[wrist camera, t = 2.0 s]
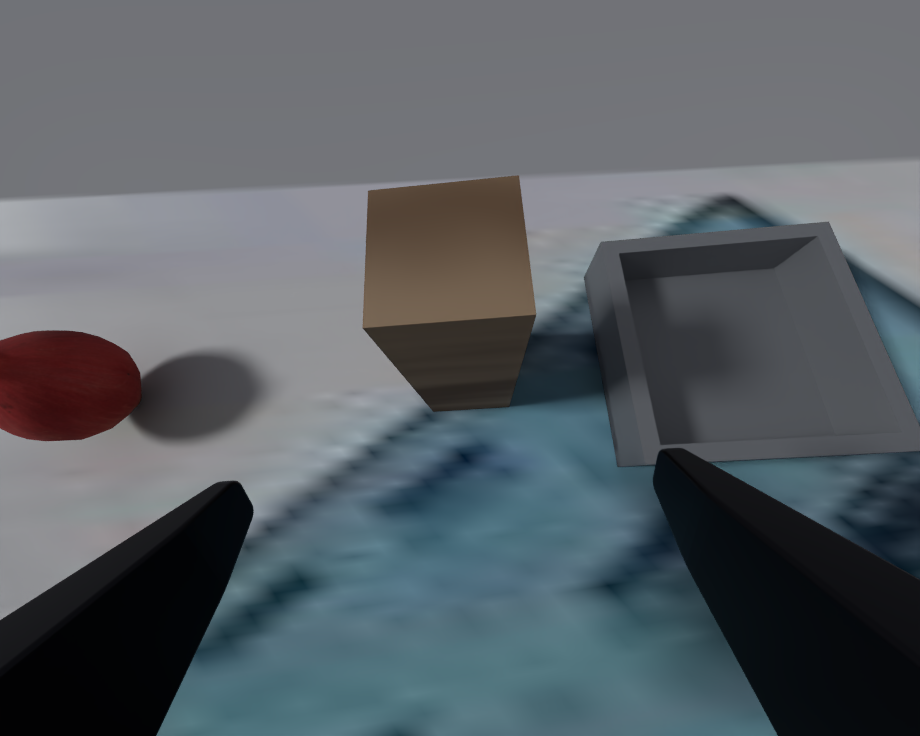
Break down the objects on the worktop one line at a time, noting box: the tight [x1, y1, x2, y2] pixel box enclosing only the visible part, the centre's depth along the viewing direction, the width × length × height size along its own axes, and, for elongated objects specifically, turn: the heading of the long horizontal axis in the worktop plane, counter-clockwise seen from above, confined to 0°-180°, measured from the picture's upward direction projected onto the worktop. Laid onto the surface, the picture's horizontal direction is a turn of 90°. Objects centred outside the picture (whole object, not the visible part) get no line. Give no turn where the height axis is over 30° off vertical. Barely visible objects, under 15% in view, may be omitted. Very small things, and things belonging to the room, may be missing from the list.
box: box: [584, 222, 920, 467], centre depth 18 cm, size 12×12×4 cm
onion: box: [0, 331, 142, 441], centre depth 18 cm, size 6×6×8 cm
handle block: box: [363, 176, 536, 412], centre depth 15 cm, size 4×4×12 cm
